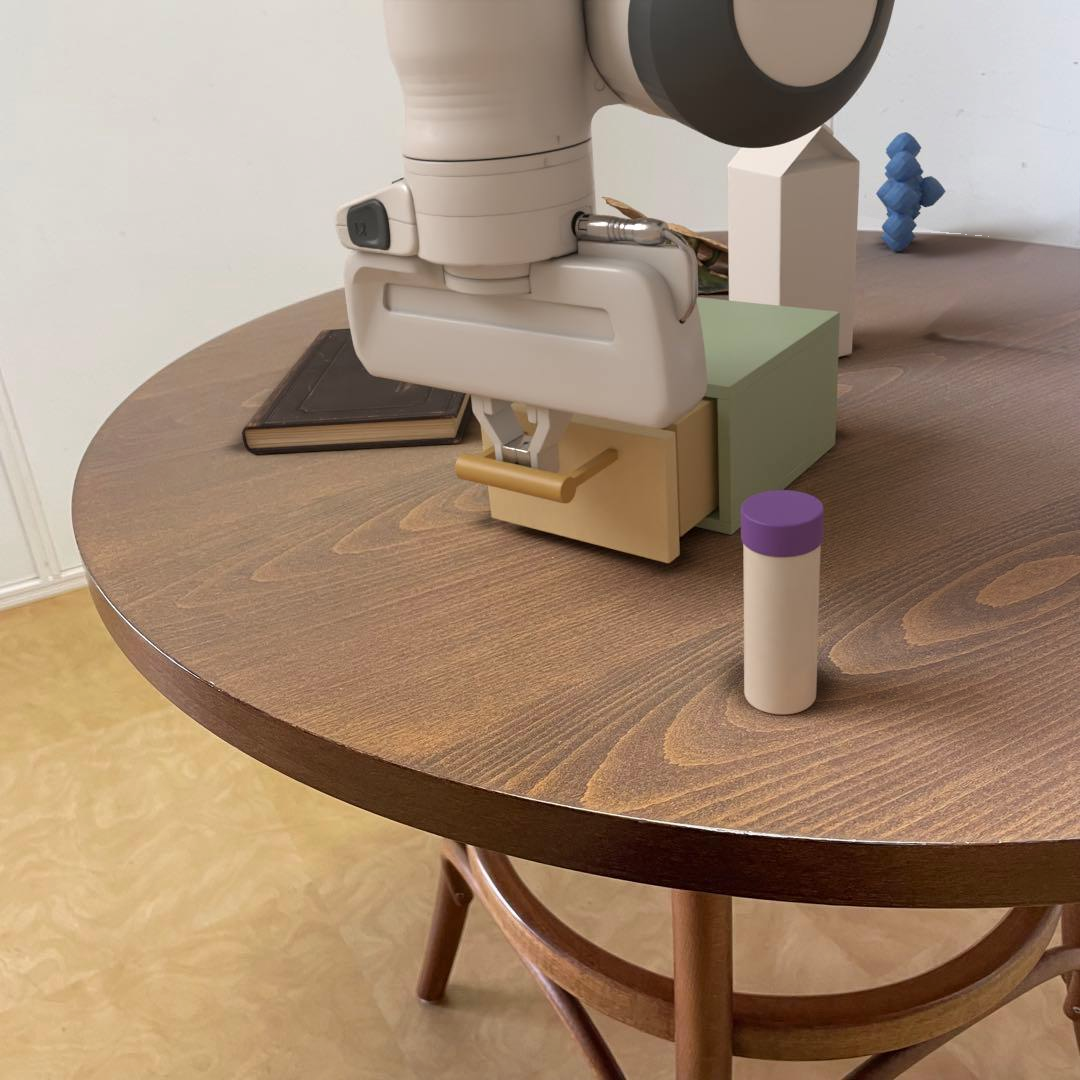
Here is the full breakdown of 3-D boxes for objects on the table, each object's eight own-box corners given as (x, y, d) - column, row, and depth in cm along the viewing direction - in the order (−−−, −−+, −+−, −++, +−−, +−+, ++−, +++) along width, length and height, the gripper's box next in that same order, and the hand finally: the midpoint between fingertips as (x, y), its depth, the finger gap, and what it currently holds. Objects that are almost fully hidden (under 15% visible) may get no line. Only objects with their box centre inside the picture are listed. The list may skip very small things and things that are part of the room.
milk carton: (778, 374, 88) (781, 117, 79) (728, 351, 94) (726, 110, 85) (852, 356, 90) (863, 104, 82) (799, 334, 96) (804, 97, 87)
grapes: (943, 265, 111) (953, 137, 106) (871, 266, 113) (877, 141, 108) (939, 236, 121) (948, 119, 116) (874, 238, 123) (879, 122, 118)
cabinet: (731, 535, 65) (729, 386, 61) (542, 491, 73) (529, 356, 69) (835, 444, 75) (840, 311, 71) (660, 414, 83) (655, 292, 79)
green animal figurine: (764, 332, 118) (796, 262, 115) (726, 341, 105) (762, 263, 102) (616, 263, 123) (644, 194, 120) (563, 263, 110) (592, 186, 107)
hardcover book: (494, 343, 102) (491, 318, 100) (460, 443, 81) (456, 413, 80) (321, 354, 103) (316, 330, 102) (245, 455, 83) (239, 426, 82)
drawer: (613, 611, 57) (604, 480, 54) (431, 557, 64) (413, 438, 61) (780, 470, 70) (781, 358, 67) (613, 438, 77) (607, 335, 74)
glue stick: (830, 685, 52) (837, 498, 47) (798, 725, 49) (802, 531, 45) (762, 665, 53) (763, 483, 49) (728, 702, 51) (726, 514, 47)
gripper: (730, 205, 50) (732, 488, 56) (394, 186, 61) (427, 423, 68) (655, 238, 46) (666, 541, 52) (309, 211, 57) (353, 462, 63)
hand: (528, 473), depth 60 cm, fingers closed
